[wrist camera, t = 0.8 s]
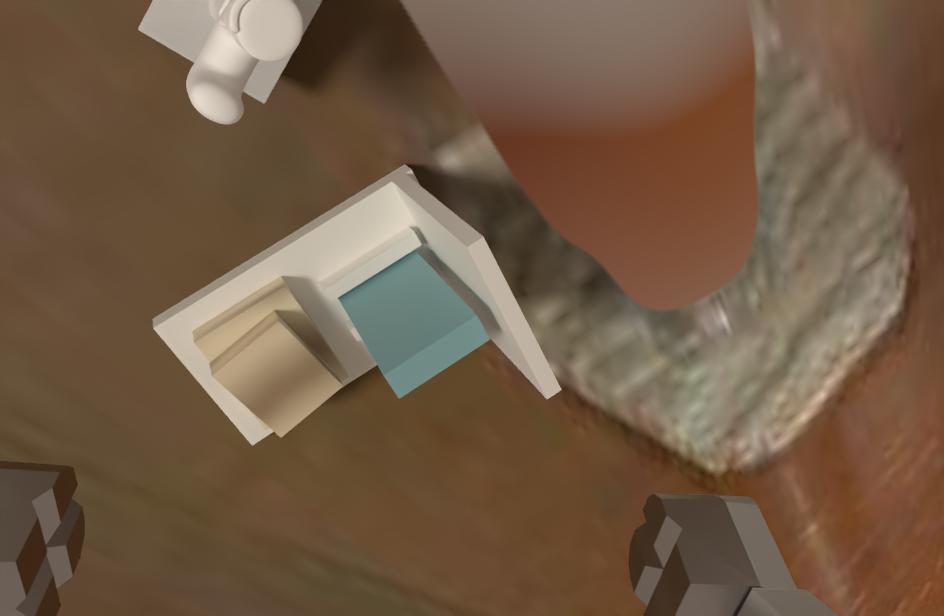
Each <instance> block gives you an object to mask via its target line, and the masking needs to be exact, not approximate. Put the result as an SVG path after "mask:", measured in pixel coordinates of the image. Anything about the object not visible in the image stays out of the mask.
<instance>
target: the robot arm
mask: <svg viewBox="0 0 944 616" xmlns="http://www.w3.org/2000/svg"><path fill="white" fill-rule="evenodd" d="M77 485H78V484H77V480H76V476H75V472H74V468H73V467H70V466H65V465H51V464H37V463H23V462H9V461H0V616H56V615H57V613H58V611H59V608H60V606H61V604H60V600H59V596H58V592H57V588H58V587H59V586H60V585H62V584H63V583H64V582H66V581H67V580H68V579H69V578H71V577H72V576H73V574H74V571H75V569H76V566H77V564H78V561H79V559H80V555H81V550H82V545H83V540H84V536H85V519H84V513H83V508H82V506H80V505H79V504H78V503H77V502H76V501H74V500H73V499H72V496H73V494H74V492H75V489H76V487H77ZM643 512H644V515H645V519H646V523H644V524H643V525H641V526H640V527H639V528H637V529H636V530H635V532H634V535H633V537H632V540H631V543H630V550H629V571H630V579H631V582H632V586H633V590H634V593H635V594H636V595H637V596H638V597H639V598H640V599H641V600H642V601H643V602H644V603H645V604H646V605H647V608H646V611H645V613H644V615H643V616H838V615H836V614H835V613H834V612H833V611H832V610H830V609H829V608H828V607H827V606H826V605H825V604H823V603H822V602H821V601H820V600H819V599H817V598H816V597H815V596H814V595H813V594H811V593H810V592H809V591H808V590H804V589H797V587H796V585H795V583H794V581H793V579H792V577H791V575H790V573H789V570H788V568H787V566H786V564H785V562H784V560H783V558H782V556H781V554H780V552H779V550H778V547H777V545H776V543H775V541H774V539H773V537H772V535H771V533H770V531H769V529H768V527H767V524H766V522H765V520H764V518H763V516H762V514H761V512H760V510H759V508H758V506H757V504H756V502H755V501H754V500H753V499H752V498H751V497H738V496H714V495H696V494H668V493H653V494H652V495H651V496H650V497H649V498H648V499H647V501H646V504H645V506H644V508H643Z"/></svg>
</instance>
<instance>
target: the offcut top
mask: <svg viewBox="0 0 944 616" xmlns="http://www.w3.org/2000/svg"><path fill="white" fill-rule="evenodd" d="M209 364H210V370H211V375H212V377H213V378H214V379H215V380H217V381H218V382H219V383H220V384H221V385H222V386H223V387H224V388H226V389H227V390H228V391H229V392H230V393H231V394H232V395H233V396H235V397H236V398H237V399H238V400H239V401H240V402H241V403H242V404H244V405H245V406H246V407H247V408H248V409H249V410H250V411H251V412H253V413H254V414H255V415H256V416H257V417H258V418H259V419H260V420H262V421H263V422H264V423H265V424H266V425H267V426H268V427H269V428H271V429H272V430H273V431H274V432H275V433H276V434H277V435H278V436H279V437H282V436H284V435H285V434H286V433H287V432H288V431H290V430H291V429H292V428H293V427H294V426H296V425H297V424H298V423H299V422H301V421H302V420H303V419H304V418H305V417H307V416H308V415H309V414H310V413H311V412H313V411H314V410H315V409H316V408H317V407H319V406H320V405H321V404H322V403H323V402H325V401H326V400H327V399H328V398H329V397H331V396H332V395H333V394H334V393H336V392H337V391H338V390H339V389H340V388H342V387H343V385H342V383H341V381H340V378H339V376H338V374H337V373H336V372H335V371H334V370H333V369H332V368H331V367H330V366H329V365H328V364H327V363H326V362H325V361H324V360H323V359H322V358H321V357H320V356H319V355H318V354H317V353H316V352H315V351H314V350H313V349H312V348H311V347H310V346H309V345H308V344H307V343H306V342H305V341H304V339H303V338H302V337H301V336H300V335H299V334H298V333H297V332H296V331H295V330H294V329H293V328H292V327H291V326H290V325H289V324H288V323H287V322H286V321H285V320H284V319H283V318H282V317H281V316H280V315H279V314H278V313H277V312H276V311H275V310H273V311H272V312H271V313H270V314H269V315H267V316H266V317H265V318H264V319H262V320H261V321H260V322H259V323H258V324H256V325H255V326H254V327H253V328H251V329H250V330H249V331H248V332H247V333H245V334H244V335H243V336H242V337H240V338H239V339H238V340H237V341H236V342H234V343H233V344H232V345H231V346H229V347H228V348H227V349H226V350H225V351H223V352H222V353H221V354H220V355H218V356H217V357H216V358H215V359H214V360H212V361H211V362H210V363H209Z"/></svg>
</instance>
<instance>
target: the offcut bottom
mask: <svg viewBox="0 0 944 616" xmlns="http://www.w3.org/2000/svg"><path fill="white" fill-rule="evenodd" d="M273 310H275V311H276V312H277V313H278V314H279V315H280V316H281V317H282V318H283V319H284V320H285V321H286V322H287V323H288V324H289V325H290V326H291V327H292V328H293V329H294V330H295V331H296V332H297V333H298V334H299V335H300V336H301V337H302V338H303V339H304V341H305V342H306V343H307V344H308V345H309V346H310V347H311V348H312V349H313V350H314V351H315V352H316V353H317V354H318V355H319V356H320V357H321V358H322V359H323V360H324V361H325V362H326V363H327V364H328V365H329V366H330V367H331V368H332V369H333V370H334V371H335V372H336V373H337V374H338V376H339V378H340V381H343V380H345V379H346V378H348V377H349V376H348V374H347V372H346V370H345V368H344V366H343V364H342V363H341V361H340V360H339V358H338V357H337V355H336V354H335V353H334V351H333V350H332V348H331V347H330V345H329V344H328V343H327V341H326V340H325V338H324V337H323V335H322V334H321V333H320V331H319V330H318V328H317V327H316V325H315V324H314V322H313V321H312V320H311V318H310V317H309V315H308V314H307V312H306V311H305V310H304V308H303V307H302V305H301V304H300V302H299V301H298V300H297V298H296V297H295V295H294V294H293V292H292V291H291V290H290V288H289V287H288V285H287V284H286V282H285V281H284V279H283V278H282V277H281V276H280V277H278V278H277V279H275V280H273V281H272V282H270V283H269V284H267V285H265V286H264V287H262V288H261V289H259V290H257V291H256V292H254V293H252V294H251V295H249V296H248V297H246V298H244V299H243V300H241V301H240V302H238V303H236V304H235V305H233V306H231V307H230V308H228V309H227V310H225V311H223V312H222V313H220V314H219V315H217V316H215V317H214V318H212V319H210V320H209V321H207V322H206V323H204V324H202V325H201V326H199V327H198V328H196V329H194V330H193V331H192V332H193V338H194V343H195V344H196V346H197V347H198V348H199V349H200V350H201V352H202V353H203V354H204V355H205V357H206V358H207V359H208V360H209V361H210V362H211V361H212V360H214V359H215V358H216V357H217V356H218V355H220V354H221V353H222V352H223V351H225V350H226V349H227V348H228V347H229V346H231V345H232V344H233V343H234V342H236V341H237V340H238V339H239V338H240V337H242V336H243V335H244V334H245V333H247V332H248V331H249V330H250V329H251V328H253V327H254V326H255V325H256V324H258V323H259V322H260V321H261V320H262V319H264V318H265V317H266V316H267V315H269V314H270V313H271V312H272V311H273ZM250 412H251V411H250ZM251 413H252V414H253V415H254V416H255V418H256V419H257V420H258V421H259V423H260V424H261V425H262V426H263V427H264V429H265V430H267V429H268V428H269V427H268V426H267V425H266V424H265V423H264V422H263V421H262V420H260V419H259V418H258V417H257V416H256V415H255V414H254V413H253V412H251Z"/></svg>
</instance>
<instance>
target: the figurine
mask: <svg viewBox="0 0 944 616" xmlns="http://www.w3.org/2000/svg"><path fill="white" fill-rule="evenodd" d="M322 1H323V0H153V1H152V3H151V5H150V7H149V9H148V11H147V13H146V14H145V16H144V18H143V20H142V22H141V24H140V26H139V28H138V30H139V31H141V32H143V33H144V34H146V35H148V36H150V37H151V38H153V39H155V40H156V41H158V42H160V43H162V44H163V45H165V46H167V47H168V48H170V49H172V50H173V51H175V52H177V53H179V54H180V55H182V56H184V57H185V58H187V59H189V60H190V61H192V62H194V65H193V66H192V68H191V70H190V72H189V74H188V77H187V81H186V87H187V92H188V95H189V97H190V100H191V102H192V104H193V106H194V107H195V108H196V109H197V110H198V112H200V113H201V114H202V115H203V116H205V117H206V118H208V119H210V120H212V121H214V122H217V123H220V124H233V123H236V122H237V121H238V120H240V118H241V117H242V115H243V111H244V108H243V103H242V101H241V96H242V92H245V93H247V94H248V95H250V96H252V97H253V98H255V99H257V100H258V101H260V102H262V103H264V104H265V102H266V100H267V98H268V97H269V95H270V93H271V91H272V89H273V88H274V86H275V84H276V82H277V81H278V79H279V77H280V75H281V73H282V72H283V70H284V68H285V66H286V65H287V63H288V61H289V59H290V57H291V56H292V54H293V52H294V51H295V49H296V48H297V47H298V45H299V43H300V41H301V38H302V36H303V34H304V33H305V31H306V29H307V27H308V25H309V24H310V22H311V20H312V18H313V17H314V15H315V13H316V11H317V9H318V8H319V6H320V4H321V2H322Z"/></svg>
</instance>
